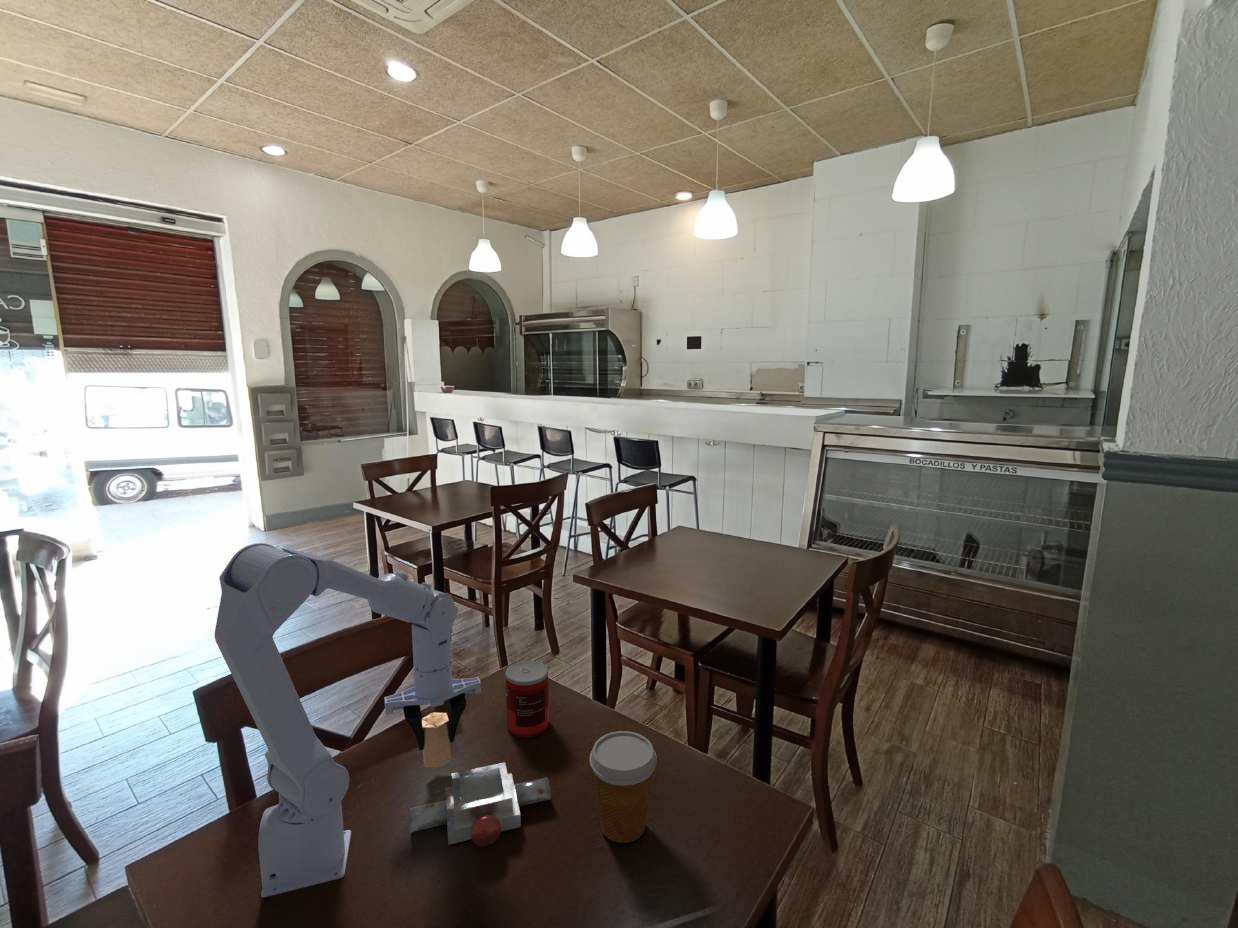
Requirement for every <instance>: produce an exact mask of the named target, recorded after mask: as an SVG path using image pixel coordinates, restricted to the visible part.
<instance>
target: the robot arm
mask: <svg viewBox="0 0 1238 928" xmlns="http://www.w3.org/2000/svg"><path fill="white" fill-rule="evenodd" d="M409 577H410V576H409V575H408V574H406V573H404V572H400V571H396V573H386V574H383V575H381V576H379V577H374V576H373V575H370V574H367V573H365V572H363V571H360V570H358V569H355V568H352V567H350V566H347V565H345V564H343V563H339V562H338V561H335V560H332V559H329V558H328V557H327V558H326V557H323V556H320V555H317V554H313V553H308V552H304V551H301V550H300V551H299V550H295V549H290V548H285V547H284V548H283V547H282V548H281V549H278V548H276V547H275V546H274V545H271V544H268V543H263V542H256V543H252V544H248V545H245V546H243V547H242V548H240V549H239V550H238V551H237V552H236V553H235V554H234V555H233V557H232V558H230V561H229V562H228V563H227V564H226V567H225V568H224V570H223V571H222V572H221V574H220V575H219V577H218V578H219V583H220V588H221V595H220V599H219V601H220V602H219V607H218V611H217V612H218V613H217V617H216V623H215V628H214V639H215V640H214V641H215V643H216V645H217V647H218V649H219V651H220V653H221V655H222V657H223V659H224V661H225V664H226V666H227V668H228V669H229V672H230V673H231V675H232V678H233V680H234V682H235V684H236V686H237V688H238V690H239V692H240V694H241V697H242V698H243V702H244V703H245V705H246V707H247V709H248V711H249V714H250V715H251V717H252V719H253V721H254V723H255V725H256V727H257V729H258V731H259V734H260V736H261V737H262V740H263V742H264V744H265V746H266V747H267V751H266V752H265V753H264V757H265V759H266V761H267V772H266V774H267V775H266V781H267V784H268V785H269V787H270V788H271V789H272V790H274V791H275V792H278V804H276V805H273V806H270V807H268V808H266V809H264V811H263V813H262V817H261V819H260V824H259V829H258V841H257V842H258V843H257V847H258V849H257V850H258V856H259V857H258V858H259V867H260V869H259V870H260V875H261V876H260V879H261V886H262V889H261V892H260V895H261V898H268V897H273V896H276V895H279V894H285V893H287V892H291V891H295V890H299V889H303V888H307V887H311V886H315V885H316V886H317V885H319V884H323V883H326V882H330V881H335V880H339V879H342V878H343V877H344V876H345V875H346V868H347V862H348V856H349V851H350V845H351V839H352V830H351V829H347V830H344V821H343V806H342V805H343V804H342V801H343V799H344V797H345V796H346V794H347V792H348V790H349V787H350V774H349V772H348V770H347V768H346V767H345V766H343V765H341V764H339V763H337V762H335V759H334V758H333V756H332V754H331V752H330V751H329V750H328V749H327V748H326V746H325V745H324V744H323V742H322V741H321V740H320V739H319V738H318V737H317V735H316V733H315V731H314V728H313V726H312V724H311V721H310V719H309V717H308V715H307V712H306V710H305V708H304V706H303V704H302V701H301V698H300V696H299V695H298V692H297V690H296V688H295V685H294V683H293V681H292V678H291V676H290V674H289V671H288V670H287V667H286V665H285V663H284V661H283V657H282V656H281V654H280V651H279V649H278V647H277V645H276V642H275V640H274V638H273V637H274V635H275V633H276V632H277V631H278V629H280V628H281V626H283V624H284V623H285V622H286V621H288V620H289V618H290V617H291V616H292V615H293V614H294V613H295V612H296V611H297V610H298V609H299V608H300V607H301V606H302V605H303V604H304V603H305V602H306V601H307V599H308V598H309V597H310V596H313V597H318V596H320V595H321V594H323V593H324V592H325V591H326V590H327V589H330V590H333V591H336V592H341V593H344V594H347V595H351V596H353V597H357V598H361V599H365V600H367V602H368V605H369V608H370V610H371V611H372V612H374V613H376V614H378V615H379V614H380V615H383V616H386V617H390V618H393V619H397V620H399V621H403V622H406V623H412V624H411V637H412V639H411V641H412V657H413V658H412V659H413V662H412V663H413V681H414V686H412V687H409V688H407V689H405V690H403V691H399V692H397V693H394V694H390V695H388V696H384V699H383V700H384V710H385V715H391V714H393V713H394V711H398V710H399V711H400V710H403V714H404V719H405V721H406V723H407V724H408V726H409V727H410V728H411V730H412V732H413V734H414V736H415V738H416V741H417V745H418V751H423V750H424V742H423V735H422V718H423V716H422V708H421V706H423V705H424V706H427V705H428V706H430V707H431V708H433V707H439V706H443V705H444V704H445V701H446V707H447V716H448V720H449V734H450V744H452V743H453V742H455V736H456V733H457V728H458V725H459V721H460V719H461V718H462V715H463V713H464V712H465V710H466V707H467V699H466V695H469V694H474V695H479V694H482V684H481V683H482V682H481V679H480V677H479V676H476V677H469V678H453V666H452V665H453V663H452V662H453V661H452V641H451V640H452V639H451V638H452V634H453V633H454V631H453V628H454V626H453V625H454V623H455V620H456V618H457V616H458V614H459V613H458V612H459V606H457V605H456V603H455V601H454V599H453V597H452V596H451V595H450V594H448V593H446V592H442V591H439V590H436V589H434V588H433V589H432V584H430V583H426V582H421V583H417V582H415V581H412V580H410V579H409Z"/></svg>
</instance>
